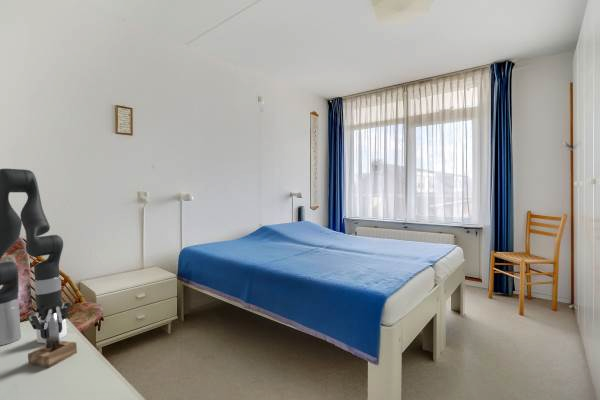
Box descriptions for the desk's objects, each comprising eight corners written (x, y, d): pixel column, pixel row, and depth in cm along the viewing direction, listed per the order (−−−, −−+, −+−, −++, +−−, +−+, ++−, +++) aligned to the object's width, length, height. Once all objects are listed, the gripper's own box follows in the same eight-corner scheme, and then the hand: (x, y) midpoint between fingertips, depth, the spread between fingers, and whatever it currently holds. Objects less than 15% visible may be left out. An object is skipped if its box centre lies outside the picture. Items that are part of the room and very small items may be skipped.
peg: (43, 347, 112) (40, 315, 111) (54, 342, 116) (52, 311, 115) (51, 348, 111) (48, 316, 110) (62, 343, 115) (60, 311, 114)
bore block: (28, 364, 110) (27, 353, 110) (57, 350, 119) (56, 340, 119) (49, 367, 107) (48, 356, 107) (76, 352, 117) (76, 342, 117)
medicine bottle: (67, 335, 133) (65, 307, 132) (52, 343, 125) (50, 314, 125) (52, 334, 133) (50, 307, 133) (36, 343, 126) (34, 314, 126)
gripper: (60, 283, 120) (63, 326, 121) (18, 296, 107) (22, 344, 107) (75, 284, 118) (78, 327, 119) (34, 297, 105) (38, 346, 105)
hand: (52, 335), depth 113 cm, fingers closed on peg, 4 cm apart
